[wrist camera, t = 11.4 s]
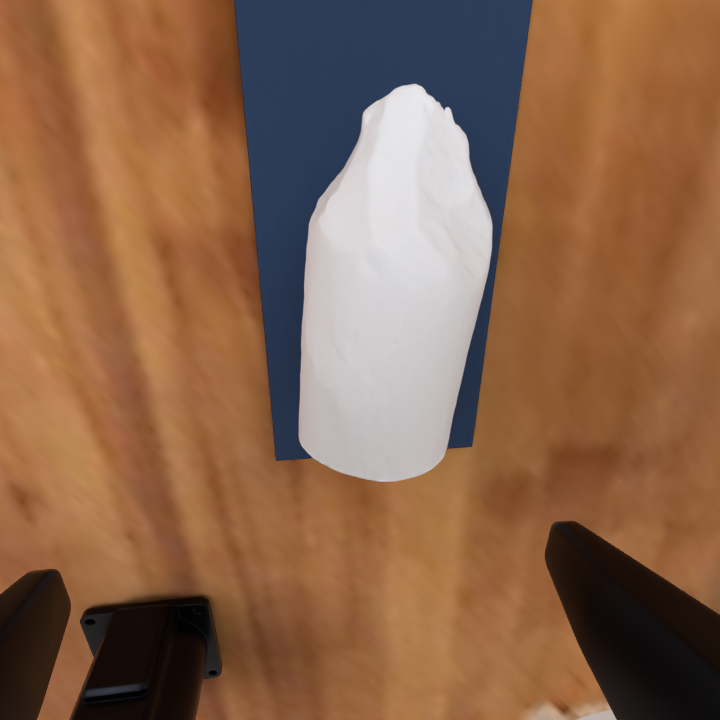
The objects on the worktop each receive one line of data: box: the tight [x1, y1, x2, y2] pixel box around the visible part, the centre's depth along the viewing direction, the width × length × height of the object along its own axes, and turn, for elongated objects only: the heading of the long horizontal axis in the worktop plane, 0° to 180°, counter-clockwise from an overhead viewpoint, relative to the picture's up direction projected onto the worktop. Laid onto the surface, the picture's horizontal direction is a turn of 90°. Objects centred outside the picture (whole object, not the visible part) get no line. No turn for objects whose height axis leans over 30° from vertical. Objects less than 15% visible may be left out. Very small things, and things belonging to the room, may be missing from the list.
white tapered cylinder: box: [299, 84, 493, 482], centre depth 15 cm, size 6×12×6 cm, turn 174°
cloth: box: [234, 0, 532, 461], centre depth 18 cm, size 18×10×1 cm, turn 0°
